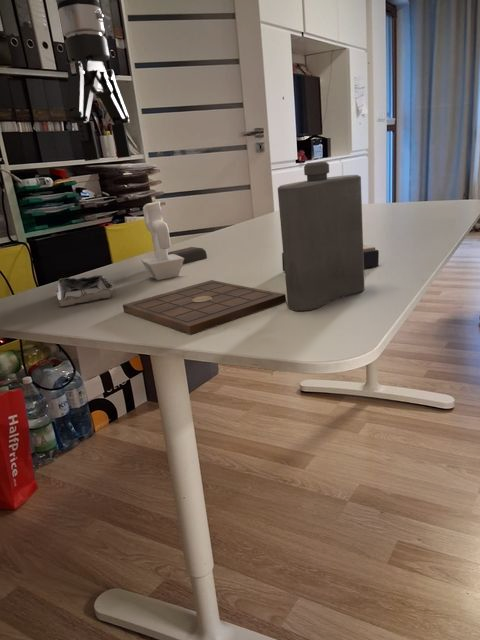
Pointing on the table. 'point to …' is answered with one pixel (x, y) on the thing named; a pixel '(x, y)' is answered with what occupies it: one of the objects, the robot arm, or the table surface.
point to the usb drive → (190, 254)
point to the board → (203, 305)
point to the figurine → (160, 245)
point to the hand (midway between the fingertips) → (109, 159)
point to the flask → (321, 237)
